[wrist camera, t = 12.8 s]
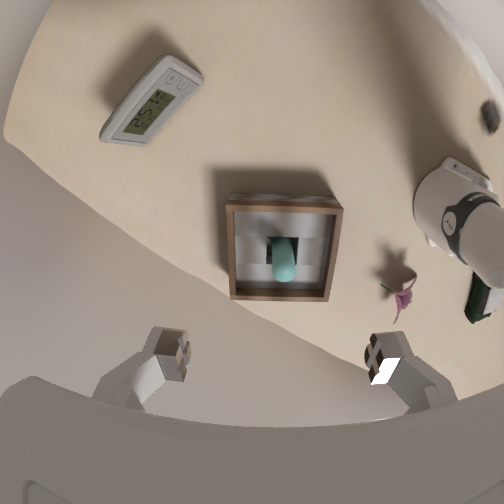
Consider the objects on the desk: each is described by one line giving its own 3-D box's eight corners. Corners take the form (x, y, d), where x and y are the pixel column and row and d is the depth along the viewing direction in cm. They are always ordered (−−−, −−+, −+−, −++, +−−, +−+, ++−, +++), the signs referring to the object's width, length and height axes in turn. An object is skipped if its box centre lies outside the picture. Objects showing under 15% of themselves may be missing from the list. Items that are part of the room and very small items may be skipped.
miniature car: (462, 316, 58) (474, 335, 51) (474, 263, 50) (491, 282, 43) (484, 307, 57) (496, 324, 50) (496, 255, 48) (513, 272, 42)
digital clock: (142, 150, 43) (112, 162, 34) (116, 112, 40) (82, 117, 30) (217, 95, 38) (202, 90, 29) (188, 55, 35) (166, 41, 26)
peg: (292, 233, 49) (297, 262, 41) (290, 251, 51) (295, 282, 43) (272, 232, 50) (272, 261, 41) (271, 250, 51) (271, 281, 43)
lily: (378, 312, 59) (406, 334, 51) (357, 301, 52) (391, 328, 44) (405, 269, 57) (436, 289, 50) (389, 251, 50) (426, 274, 43)
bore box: (335, 197, 46) (343, 209, 40) (323, 282, 54) (328, 301, 49) (230, 193, 46) (225, 205, 41) (233, 280, 55) (230, 299, 50)
